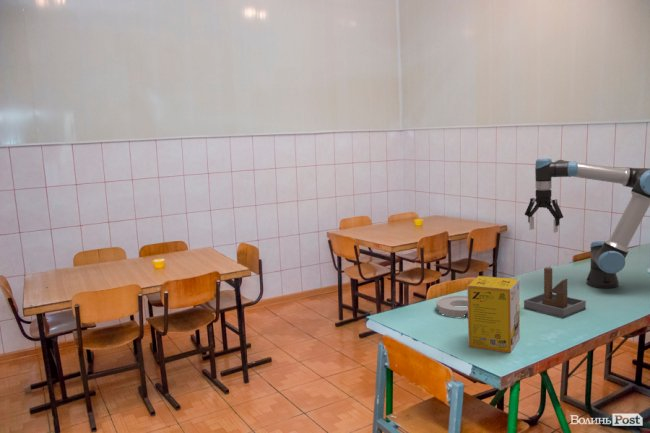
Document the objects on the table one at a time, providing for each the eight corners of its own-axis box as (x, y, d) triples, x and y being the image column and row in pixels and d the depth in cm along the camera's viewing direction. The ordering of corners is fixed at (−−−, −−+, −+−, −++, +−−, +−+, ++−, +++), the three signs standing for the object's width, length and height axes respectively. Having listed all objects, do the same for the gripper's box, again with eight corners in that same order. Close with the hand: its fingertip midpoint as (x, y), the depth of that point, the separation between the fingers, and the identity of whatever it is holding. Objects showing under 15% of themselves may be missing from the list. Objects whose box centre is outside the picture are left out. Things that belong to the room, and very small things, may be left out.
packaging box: (479, 333, 232) (478, 275, 229) (519, 338, 224) (519, 278, 220) (468, 346, 218) (467, 285, 215) (510, 353, 210) (510, 289, 206)
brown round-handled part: (562, 310, 251) (563, 272, 249) (542, 305, 260) (542, 268, 257) (567, 308, 253) (567, 270, 251) (546, 303, 262) (546, 266, 259)
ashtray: (472, 322, 247) (471, 313, 246) (427, 313, 262) (427, 305, 262) (495, 308, 263) (495, 300, 263) (452, 300, 279) (451, 293, 278)
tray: (546, 300, 270) (546, 292, 269) (585, 309, 254) (585, 300, 253) (524, 308, 260) (524, 300, 259) (563, 318, 244) (563, 309, 243)
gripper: (517, 189, 286) (517, 229, 289) (562, 191, 266) (562, 234, 269) (526, 187, 290) (526, 227, 293) (570, 189, 270) (570, 232, 273)
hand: (543, 230), depth 281 cm, fingers open, 13 cm apart
